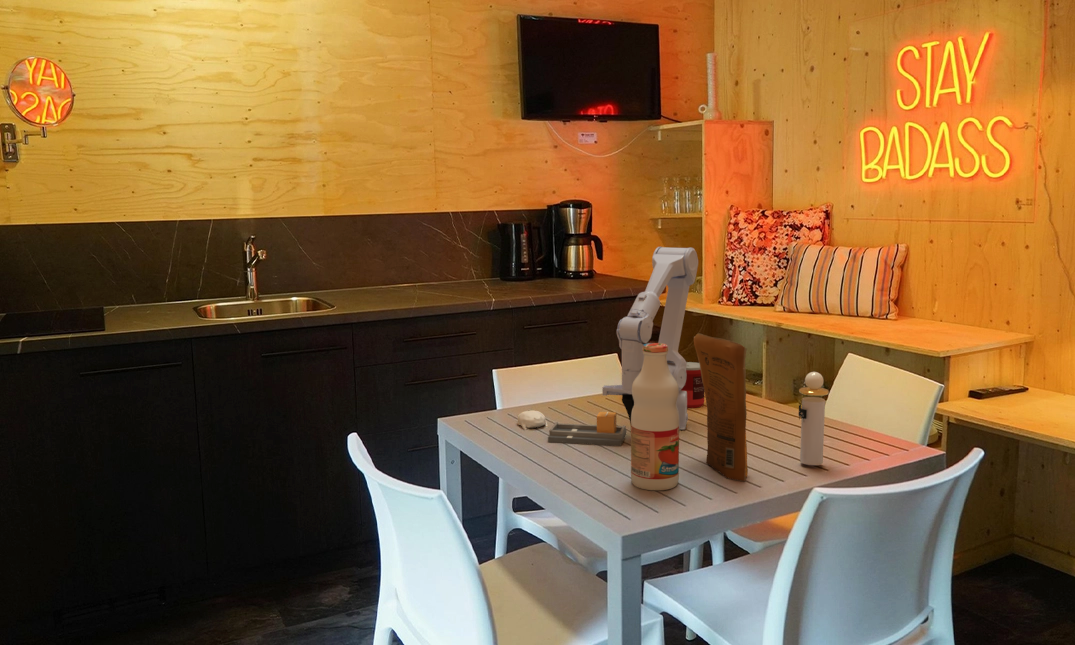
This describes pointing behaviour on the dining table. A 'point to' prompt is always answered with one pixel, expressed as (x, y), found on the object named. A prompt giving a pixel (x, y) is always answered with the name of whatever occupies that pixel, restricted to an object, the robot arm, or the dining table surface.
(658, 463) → the fruit juice
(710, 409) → the pancake mix bag
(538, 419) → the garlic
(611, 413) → the fader tab
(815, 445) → the perfume bottle
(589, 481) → the dining table surface
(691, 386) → the canned food
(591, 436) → the fader console
